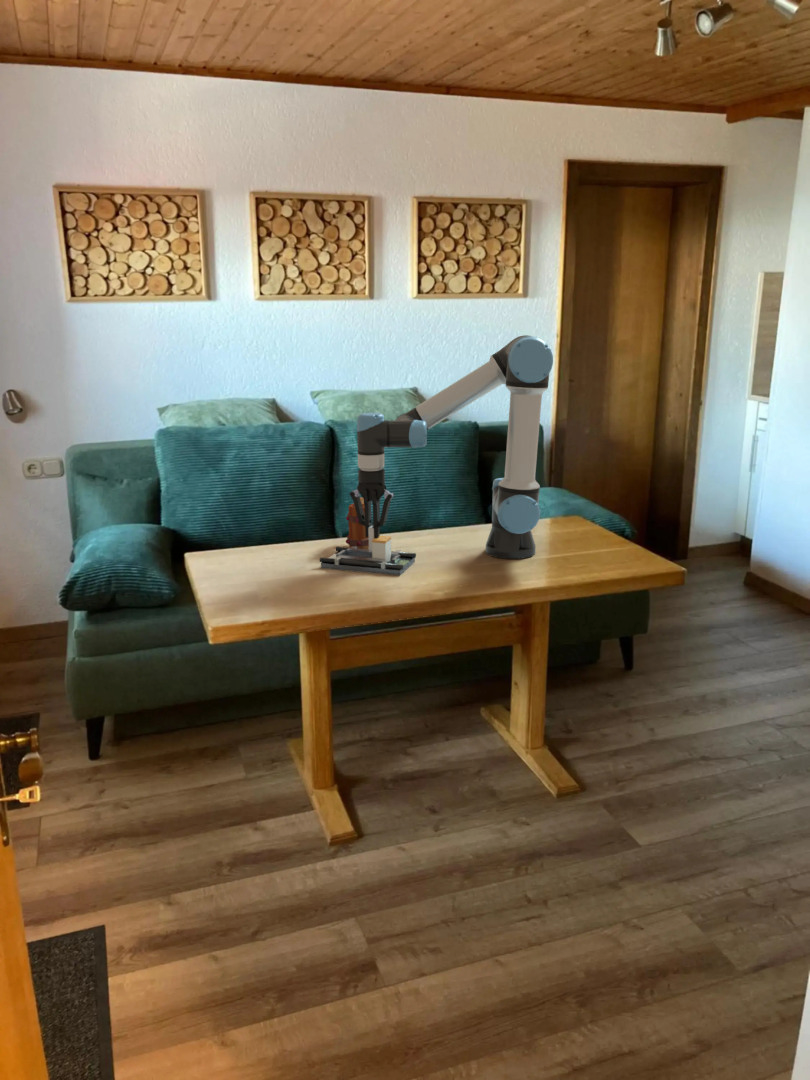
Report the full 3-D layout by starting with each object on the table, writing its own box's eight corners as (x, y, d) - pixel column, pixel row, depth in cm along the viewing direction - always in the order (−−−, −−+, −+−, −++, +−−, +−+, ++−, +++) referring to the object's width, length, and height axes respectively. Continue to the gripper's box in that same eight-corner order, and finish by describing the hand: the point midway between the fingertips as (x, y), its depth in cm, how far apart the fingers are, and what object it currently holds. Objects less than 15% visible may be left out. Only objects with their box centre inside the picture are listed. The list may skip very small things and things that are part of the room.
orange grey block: (391, 558, 250) (391, 536, 248) (385, 563, 245) (385, 541, 243) (378, 557, 251) (377, 535, 249) (372, 562, 246) (371, 540, 244)
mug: (371, 553, 261) (371, 505, 257) (345, 553, 261) (344, 505, 257) (374, 540, 275) (373, 495, 271) (349, 540, 275) (348, 495, 271)
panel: (416, 561, 252) (416, 551, 252) (401, 575, 239) (401, 565, 239) (337, 554, 260) (337, 545, 259) (319, 568, 247) (318, 557, 246)
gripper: (397, 467, 243) (398, 547, 249) (354, 464, 247) (356, 543, 253) (388, 472, 236) (389, 554, 243) (344, 469, 240) (347, 550, 246)
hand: (372, 548), depth 248 cm, fingers closed
